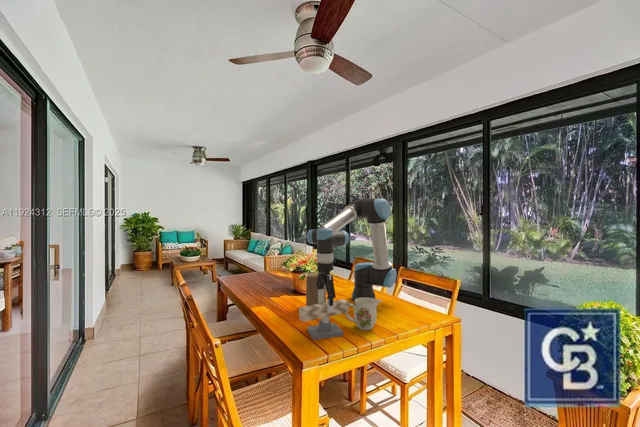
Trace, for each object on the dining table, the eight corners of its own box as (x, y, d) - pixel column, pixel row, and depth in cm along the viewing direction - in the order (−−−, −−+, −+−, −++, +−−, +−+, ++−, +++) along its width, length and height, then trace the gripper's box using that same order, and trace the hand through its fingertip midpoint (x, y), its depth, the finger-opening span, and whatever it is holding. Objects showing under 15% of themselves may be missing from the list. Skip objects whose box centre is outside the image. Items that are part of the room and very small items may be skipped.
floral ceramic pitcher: (346, 321, 151) (346, 294, 150) (382, 324, 146) (382, 297, 146) (342, 329, 140) (343, 301, 140) (381, 333, 136) (381, 304, 135)
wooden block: (323, 312, 163) (323, 276, 163) (305, 311, 165) (305, 275, 165) (326, 306, 173) (326, 272, 173) (309, 305, 175) (309, 272, 175)
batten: (343, 309, 144) (343, 299, 144) (348, 312, 140) (348, 301, 140) (299, 318, 132) (299, 307, 132) (303, 321, 128) (303, 310, 128)
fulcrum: (335, 327, 143) (335, 309, 143) (343, 335, 133) (343, 317, 133) (307, 330, 139) (307, 313, 138) (313, 339, 129) (313, 320, 129)
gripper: (309, 257, 146) (310, 299, 147) (326, 267, 122) (326, 318, 123) (324, 256, 148) (324, 298, 149) (342, 266, 125) (343, 315, 125)
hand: (325, 307), depth 136 cm, fingers open, 13 cm apart
